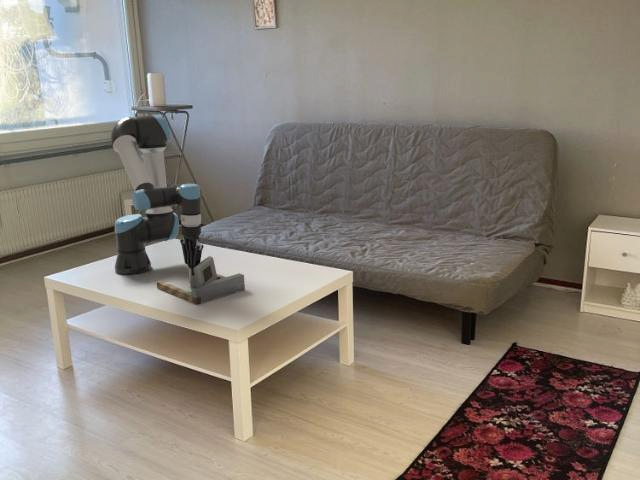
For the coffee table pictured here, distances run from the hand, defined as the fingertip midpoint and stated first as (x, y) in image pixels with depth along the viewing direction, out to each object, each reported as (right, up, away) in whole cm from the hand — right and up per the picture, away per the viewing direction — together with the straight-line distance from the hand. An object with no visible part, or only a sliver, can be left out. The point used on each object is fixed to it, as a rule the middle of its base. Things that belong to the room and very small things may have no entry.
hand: (192, 282), depth 249 cm
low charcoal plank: (+12, -4, -10) cm, 16 cm away
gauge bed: (+3, -2, -2) cm, 4 cm away
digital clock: (+5, -2, -1) cm, 5 cm away
